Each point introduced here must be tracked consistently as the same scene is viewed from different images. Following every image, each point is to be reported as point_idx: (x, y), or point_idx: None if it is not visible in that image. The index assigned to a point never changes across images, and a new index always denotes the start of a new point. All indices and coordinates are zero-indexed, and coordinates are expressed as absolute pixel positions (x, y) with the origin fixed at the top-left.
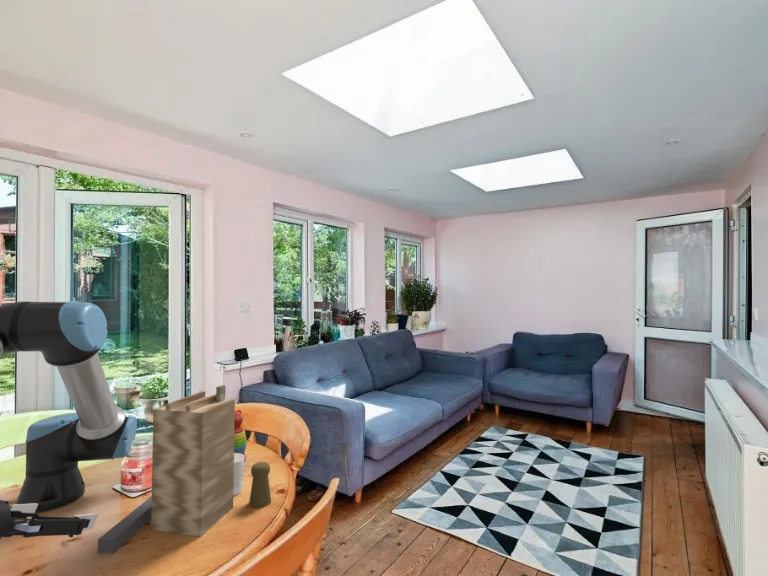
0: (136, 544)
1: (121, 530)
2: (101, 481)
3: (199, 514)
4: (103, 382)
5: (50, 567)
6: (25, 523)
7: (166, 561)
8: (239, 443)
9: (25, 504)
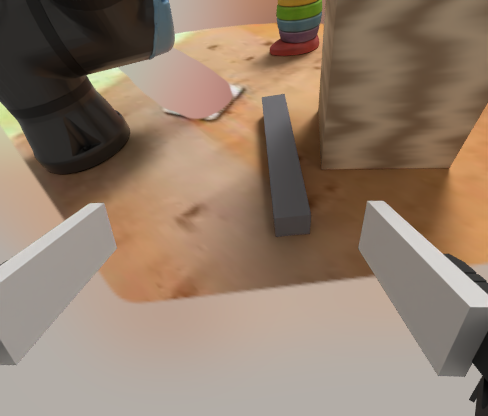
0: (333, 204)
1: (299, 188)
2: (137, 107)
3: (468, 126)
4: None
5: (211, 288)
6: None
7: (465, 238)
8: (319, 7)
9: (56, 236)
